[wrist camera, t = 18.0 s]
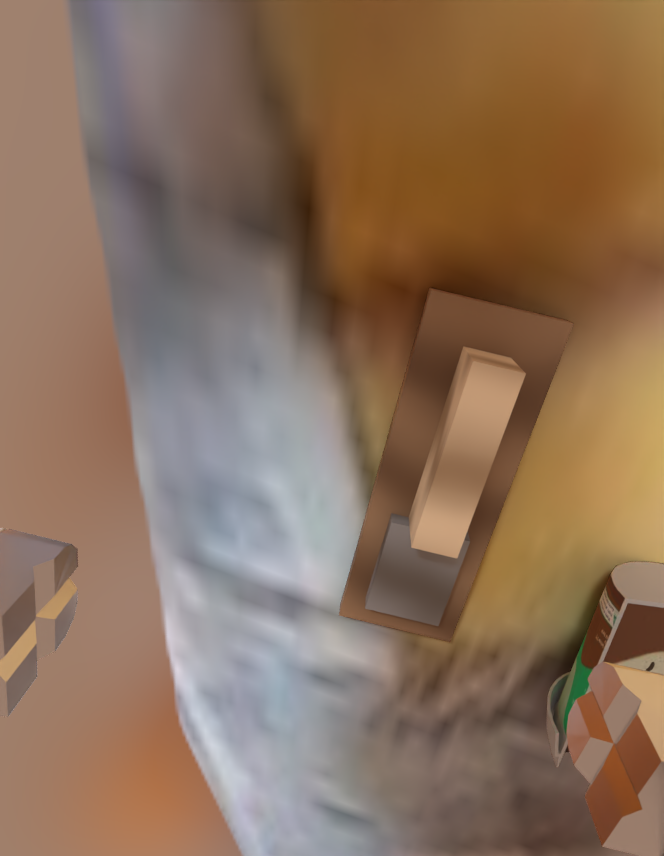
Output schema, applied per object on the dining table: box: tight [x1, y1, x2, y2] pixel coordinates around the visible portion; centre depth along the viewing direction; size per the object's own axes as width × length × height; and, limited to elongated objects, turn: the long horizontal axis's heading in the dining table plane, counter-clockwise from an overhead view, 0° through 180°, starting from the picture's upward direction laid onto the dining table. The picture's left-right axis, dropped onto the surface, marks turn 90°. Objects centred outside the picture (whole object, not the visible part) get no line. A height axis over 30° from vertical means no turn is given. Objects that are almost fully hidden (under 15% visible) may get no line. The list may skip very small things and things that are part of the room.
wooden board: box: [339, 288, 574, 642], centre depth 30 cm, size 20×7×1 cm, turn 167°
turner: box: [365, 346, 526, 626], centre depth 28 cm, size 16×4×3 cm, turn 167°
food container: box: [547, 562, 664, 767], centre depth 30 cm, size 12×6×10 cm
